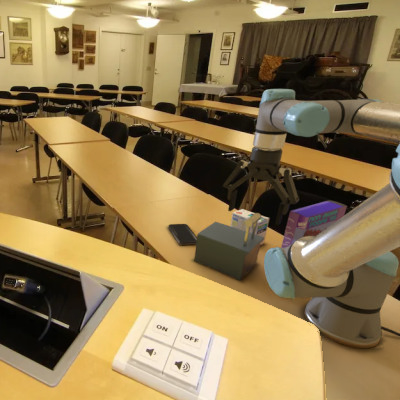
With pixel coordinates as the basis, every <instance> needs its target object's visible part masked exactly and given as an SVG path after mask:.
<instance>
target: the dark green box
mask: <svg viewBox="0 0 400 400" xmlns="http://www.w3.org/2000/svg"><path fill="white" fill-rule="evenodd" d="M196 237H197V242H196V244H195V251H194V258H193V261H194V262H195V263H198V264H200V265H203V266H206V267H208V268H210V269H212V270H215V271H217V272H220V273H222V274H224V275H226V276H229V277H231V278H233V279H236V280H238V281H242V279H243V278H244V277H245V276H246V275H247V274H248V273H249V272H250V271H251V270H252V269H253V268H254V267H255V266H256V265H257V261H258V257H259V252H260V248H261V245H260V244H261V243H260V244H259V245H258V246H257V247H256V248H255V249H254V250H252V251H251V252H250V253H249V254H246V253H243V252H241V251H238V250H235V249H232V248H230V247H227V246H224V245H222V244H219V243H216V242H213V241H211V240H208V239H205V238H202V237H200V236H197V235H196Z"/></svg>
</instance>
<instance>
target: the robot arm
mask: <svg viewBox="0 0 400 400" xmlns="http://www.w3.org/2000/svg"><path fill="white" fill-rule="evenodd" d="M261 95H262V96H261V99H260V103H259V108H258V115H257V119H256V125H255V132H254V137H253V141H252V146H253V147H252V148H251V152H250V156H249V161H246V160H245V159H241V160H238V161H237V164H236V167H235V168H234V170H233V171H232V173H231V174H229V176H228V177H227V179H226V180H225V181H224V183H223V184H222V187H223V188H225V189H227V201H229V203H228V208H227V211H228V212H232V211H233V210H235V206H236V201H237V196H238V189H237V188H238V187H240V185H242V184H243V183H245V182H246V181H248V180H250V178H253V179H254V180H261V181H262V182H267V181H268V182H269V184H270V185H272V187H273V189H274V191H275V193H276V194H277V195H278V197H279V198H280V200H281V202H280V203H279V206H278V210H277V213H276V219H275V223H274V225H275V226H279V225H280V224H281V223H282V221H283V217H284V216H286V215H287V214H288V213H289V209H290V205H296V204H297V203H298V202H299V201H300V197H299V194H298V192H297V188H296V186H295V182H294V180H293V168H292V167H287V168H283V167H281V161H282V157H283V152H284V151H283V148H284V146H285V143H286V138H287V133H289V134H291V135H294V136H297V137H305V138H310V137H311V138H312V137H314V136H316V135H318V134H331V133H333V134H334V133H337V134H339V133H343V134H344V133H345V134H352V135H357V136H363V137H367V138H372V139H375V140H380V141H384V142H388V143H389V142H390V143H395V144H398V146H397V147H396V149H395V152H396V153H397V157H393V158H392V161H391V170H390V171H389V175H388V176H389V177H388V179H389V182H388V184H386V185H385V186H384V187H382V188H381V189H379V190H378V191H376V192H374V194H372V195H371V196H369V197H368V198H367V199H365V200H364V201H362V202H361V203H359V205H357V206H355V207H354V208H353V209H352V210H350V211H348V212H347V213H345V214H344V216H343V217H342V218H340V219H339V220H338V221H336V222H335V223H333V224H332V225H331V226H329V227H328V228H326V229H325V230H324V231H322V232H321V233H319V234H318V235H317V236H306V237H302V238H300V239H298V240H297V241H295V242H294V243H293V244H291V245H290V246H288V247H285V248H281V247H279V246H276V247H270V248H269V249H267V251H266V252H265V255H264V259H263V268H264V275H265V278H266V281H267V283H268V286H269V288H270V289H271V291H272V292H273V293H274V294H275V295H276V296H278V297H279V298H285V299H291V300H293V299H294V300H295V299H305V298H306V299H309V298H311V299H309V301H308V302H307V303H306V305H305V308H304V310H303V315H304V318H305V321H306V322H307V321H308V322H310V323H312V324H314V325H315V326H316V327H317V328H318V329H319V331H320V333H319V334H320V335H322V336H323V337H325V338H327V339H329V340H331V341H333V342H334V343H338V344H340V345H344V346H346V347H351V348H356V349H369V348H373V347H376V346H377V345H378V344H379V342H380V340H381V338H382V334H383V332H382V330H383V331H385V332H388V333H390V334H393V335H395V336H397V337H399V338H400V332H398V331H395V330H393V329H390V328H388V327H385V326H383V325H382V322H381V321H382V320H381V310H382V308H383V305H384V303H385V301H386V298H387V296H388V294H389V292H390V289H391V287H392V286H393V282H394V280H395V278H396V277H397V273H398V272H397V271H398V270H399V269H398V268H399V266H400V261H399V258H398V257H397V256H396V255H395V254H394V253H393V252H391V251H394V250H395V249H398V248H399V247H400V102H399V103H397V102H387V101H383V100H380V99H374V98H373V99H372V98H359V99H342V100H340V99H339V100H337V99H334V100H333V99H331V100H330V99H329V100H297V99H296V91H295V90H294V89H289V88H270V89H265V90H264V91H263V92H262V94H261ZM246 168H247V169H248V171H249V172H247V173H246V174H245V175H244V176H242V177H241V178H239V180H237V181H235V179H236V178H237V177H238V176H239V174H240V173H241V172H242V170H243V169H246ZM279 173H280V174H281V176H282V177H283V181H284V184H285V187H286V189H285V188H284V186H283V185H282V183H281V181H280V179H279V177H278V174H279ZM234 181H235V182H234ZM233 182H234V183H233ZM286 190H287V191H286ZM308 322H307V323H308Z"/></svg>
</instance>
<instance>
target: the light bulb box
mask: <svg viewBox="0 0 400 400" xmlns="http://www.w3.org/2000/svg"><path fill="white" fill-rule="evenodd" d="M255 213H256V212H252V211H249V210H246V209H244V208H241V209H238V210H236V211H234V212H232V214H231V219H230V220H231V221H230V226H231V227H234V228H237V229H240V230H243V231H246V228H247V226H246V225H245V221H246V220H247V219H249V218H250V217H251V216H252V215H254V214H255ZM269 223H270V217H267V216H264V215H261V219H260V220H258V222H257V226H256V231H255V234H256V235H259V236H262V237H265V238H264V240H263V241H262V242H261V244H260V246H262V245H264V244H265V240H266V235H267V230H268V227H269ZM253 226H254V225H252V226H251V227H250V229H249V232H250V233H252V231H253Z"/></svg>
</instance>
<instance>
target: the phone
mask: <svg viewBox="0 0 400 400" xmlns="http://www.w3.org/2000/svg"><path fill="white" fill-rule="evenodd" d="M168 229H169V231H170V233H171V234H172V236H173V237H174V239H175V241H176V242H177V243H178V245H179V246H192V245H194V246H195V245H196V242H197V235H196V234H195V233H194V232H193V229H191V227H190V226H189V225H188V223H172V224H171V223H170V224H168Z"/></svg>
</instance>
